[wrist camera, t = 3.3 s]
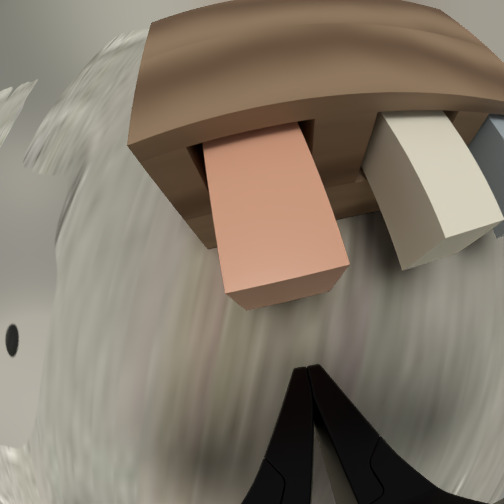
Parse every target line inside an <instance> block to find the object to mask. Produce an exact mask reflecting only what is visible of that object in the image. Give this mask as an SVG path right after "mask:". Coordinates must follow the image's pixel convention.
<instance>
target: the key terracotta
mask: <svg viewBox="0 0 504 504" xmlns="http://www.w3.org/2000/svg"><path fill="white" fill-rule="evenodd" d="M202 143H203V151H204V158H205V166H206V173H207V180H208V188H209V194H210V201H211V208H212V215H213V221H214V228H215V234H216V240H217V247H218V253H219V259H220V265H221V271H222V277H223V282H224V288H225V293H226V294H227V295H228V296H229V297H231V298H232V299H233V300H234V301H235V302H237V303H238V304H239V305H240V306H241V307H243V308H244V309H245V310H246V311H247V310H251V309H256V308H261V307H265V306H270V305H274V304H279V303H283V302H287V301H292V300H296V299H300V298H304V297H309V296H313V295H317V294H321V293H325V292H329V291H330V290H331V289H332V287H333V286H334V285H335V283H336V282H337V281H338V279H339V278H340V277H341V276H342V274H343V273H344V272H345V270H346V269H347V267H348V266H349V265H350V263H349V260H348V257H347V253H346V250H345V247H344V244H343V241H342V238H341V234H340V231H339V228H338V225H337V222H336V220H335V217H334V214H333V211H332V208H331V205H330V202H329V200H328V197H327V194H326V191H325V189H324V186H323V183H322V181H321V178H320V176H319V173H318V170H317V168H316V165H315V163H314V160H313V158H312V155H311V153H310V151H309V148H308V146H307V143H306V141H305V139H304V136H303V134H302V132H301V129H300V127H299V125H298V123H297V122H291V123H285V124H280V125H275V126H269V127H264V128H260V129H255V130H250V131H246V132H242V133H237V134H233V135H229V136H225V137H221V138H217V139H213V140H210V141H206V142H202Z"/></svg>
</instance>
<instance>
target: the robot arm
mask: <svg viewBox="0 0 504 504" xmlns="http://www.w3.org/2000/svg"><path fill="white" fill-rule="evenodd" d="M314 427H315V431H316V434H317V438H318V441H319V444H320V448H321V451H322V455H323V458H324V462H325V465H326V469H327V472H328V476H329V479H330V483H331V486H332V490H333V493H334V497H335V501H336V504H488V503H484V502H479V501H475V500H471V499H467V498H464V497H460V496H457V495H454V494H450V493H448V492H445V491H443V490H442V489H440V488H438V487H437V486H435V485H434V484H433V483H431V482H430V481H429V480H427V479H426V478H425V477H424V476H422V475H421V474H420V473H419V472H417V471H416V470H415V469H414V468H412V467H411V466H410V465H409V464H408V463H407V462H405V461H404V460H403V459H402V458H401V457H400V456H399V455H398V454H397V453H396V452H395V451H394V450H393V449H392V448H391V447H390V446H389V445H388V444H387V443H386V441H385V440H384V439H383V438H382V437H379V436H380V435H379V434H378V432H377V431H376V430H375V429H374V428H373V427H372V425H371V424H370V423H369V422H368V421H367V420H366V418H365V417H364V416H363V415H362V414H361V413H360V411H359V410H358V409H357V408H356V407H355V406H354V404H353V403H352V402H351V401H350V400H349V399H348V397H347V396H346V395H345V394H344V393H343V391H342V390H341V389H340V388H339V387H338V386H337V384H336V383H335V382H334V381H333V380H332V378H331V377H330V376H329V375H328V374H327V372H326V371H325V370H324V369H323V368H322V366H321V365H319V364H315V365H310V366H308V367H307V368H306V367H298V368H294V369H293V372H292V375H291V379H290V382H289V385H288V388H287V392H286V395H285V398H284V401H283V404H282V407H281V410H280V413H279V416H278V419H277V422H276V425H275V428H274V431H273V434H272V437H271V439H270V442H269V445H268V448H267V450H266V453H265V456H264V458H265V459H263V461H262V463H261V466H260V469H259V471H258V473H257V475H256V478H255V480H254V482H253V484H252V486H251V488H250V490H249V491H248V493H247V495H246V497H245V498H244V500H243V502H242V503H241V504H311V503H312V484H313V453H314ZM494 504H504V498H503V499H501V500H500V501H498V502H496V503H494Z"/></svg>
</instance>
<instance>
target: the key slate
mask: <svg viewBox="0 0 504 504" xmlns="http://www.w3.org/2000/svg"><path fill="white" fill-rule="evenodd" d="M468 149H469V151H470V152H471V154H472V156H473V157H474V159H475V161H476V162H477V164H478V166H479V168H480V170H481V171H482V173H483V175H484V177H485V179H486V181H487V183H488V185H489V187H490V189H491V191H492V193H493V195H494V197H495V199H496V201H497V204H498V206H499V208H500V210H501V213H502V215H503V217H504V115H500V114H491V113H489V115H488V116H487V118H486V119H485V121H484V123H483V124H482V126H481V127H480V129H479V130H478V132H477V133H476V135H475V136H474V138H473V139H472V141H471V142H470V144H469V145H468ZM493 230H494V232H495V235H496V238H500V237H502V236H504V220H503V221H502V222H500V223H499V224H498V225H497V226H495V227H494V228H493Z"/></svg>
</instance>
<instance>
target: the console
mask: <svg viewBox="0 0 504 504" xmlns="http://www.w3.org/2000/svg"><path fill="white" fill-rule="evenodd" d="M410 110H442V111H443V112H444V113H445V115H446V116H447V118H448V119H449V120H450V122H451V123H452V125H453V126H454V127H455V129H456V130H457V132H458V133H459V135H460V136H461V138H462V139H463V141H464V143H465V144H466V146H467V147H468V145H469V144H470V142H471V141H472V139H473V138H474V136H475V135H476V133H477V132H478V130H479V129H480V127H481V126H482V124H483V123H484V121H485V119H486V118H487V116H488V115H489V113H491V114H500V115H504V63H503V62H502V61H501V60H500V59H499V58H498V57H497V56H496V55H495V54H494V53H493V52H492V51H491V50H490V49H489V48H487V46H485V45H484V44H483V43H482V42H481V41H480V40H479V39H477V38H476V37H475V36H474V35H473V34H472V33H470V32H469V31H468V30H467V29H465V28H464V27H462V25H460V24H459V23H458V22H456V21H455V20H454V19H452V18H451V17H450V16H448V15H447V14H445V13H444V12H442V11H441V10H439V9H436V8H432V7H428V6H424V5H420V4H416V3H412V2H407V1H402V0H233V1H228V2H223V3H218V4H213V5H209V6H205V7H201V8H197V9H193V10H189V11H186V12H182V13H179V14H176V15H173V16H170V17H167V18H164V19H161V20H158V21H155V22H152V23H151V26H150V29H149V33H148V36H147V40H146V44H145V48H144V52H143V56H142V60H141V65H140V69H139V74H138V79H137V84H136V89H135V94H134V100H133V106H132V113H131V119H130V127H129V134H128V143H127V146H128V147H129V149H130V150H131V151H132V153H133V154H134V155H135V157H136V158H137V159H138V161H139V162H140V163H141V165H142V166H143V167H144V169H145V170H146V171H147V173H148V174H149V175H150V176H151V178H152V179H153V180H154V182H155V183H156V184H157V186H158V187H159V188H160V189H161V191H162V192H163V193H164V195H165V196H166V197H167V198H168V200H169V201H170V202H171V204H172V205H173V206H174V207H175V209H176V210H177V211H178V212H179V214H180V215H181V216H182V218H183V219H184V220H185V221H186V223H187V224H188V225H189V226H190V228H191V229H192V230H193V231H194V233H195V234H196V235H197V236H198V237H199V239H200V240H201V241H202V242H203V244H204V245H205V246H206V247H207V249H210V248H215V247H217V240H216V234H215V228H214V221H213V215H212V208H211V201H210V194H209V188H208V180H207V173H206V166H205V158H204V151H203V143H202V142H206V141H210V140H213V139H217V138H221V137H225V136H229V135H233V134H237V133H242V132H246V131H250V130H255V129H260V128H264V127H269V126H275V125H280V124H285V123H291V122H297V123H298V125H299V127H300V129H301V132H302V134H303V136H304V139H305V141H306V143H307V146H308V148H309V151H310V153H311V155H312V158H313V160H314V163H315V165H316V168H317V170H318V173H319V176H320V178H321V181H322V183H323V186H324V189H325V191H326V194H327V197H328V200H329V202H330V205H331V208H332V211H333V214H334V217H335V220H337V219H342V218H347V217H351V216H356V215H360V214H365V213H370V212H374V211H379V210H380V208H379V205H378V203H377V200H376V198H375V196H374V193H373V191H372V189H371V186H370V184H369V182H368V180H367V178H366V175H365V173H364V171H363V169H362V167H361V164H362V161H363V158H364V155H365V152H366V149H367V145H368V142H369V139H370V136H371V133H372V130H373V126H374V123H375V120H376V116H377V113H378V112H385V111H410Z"/></svg>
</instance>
